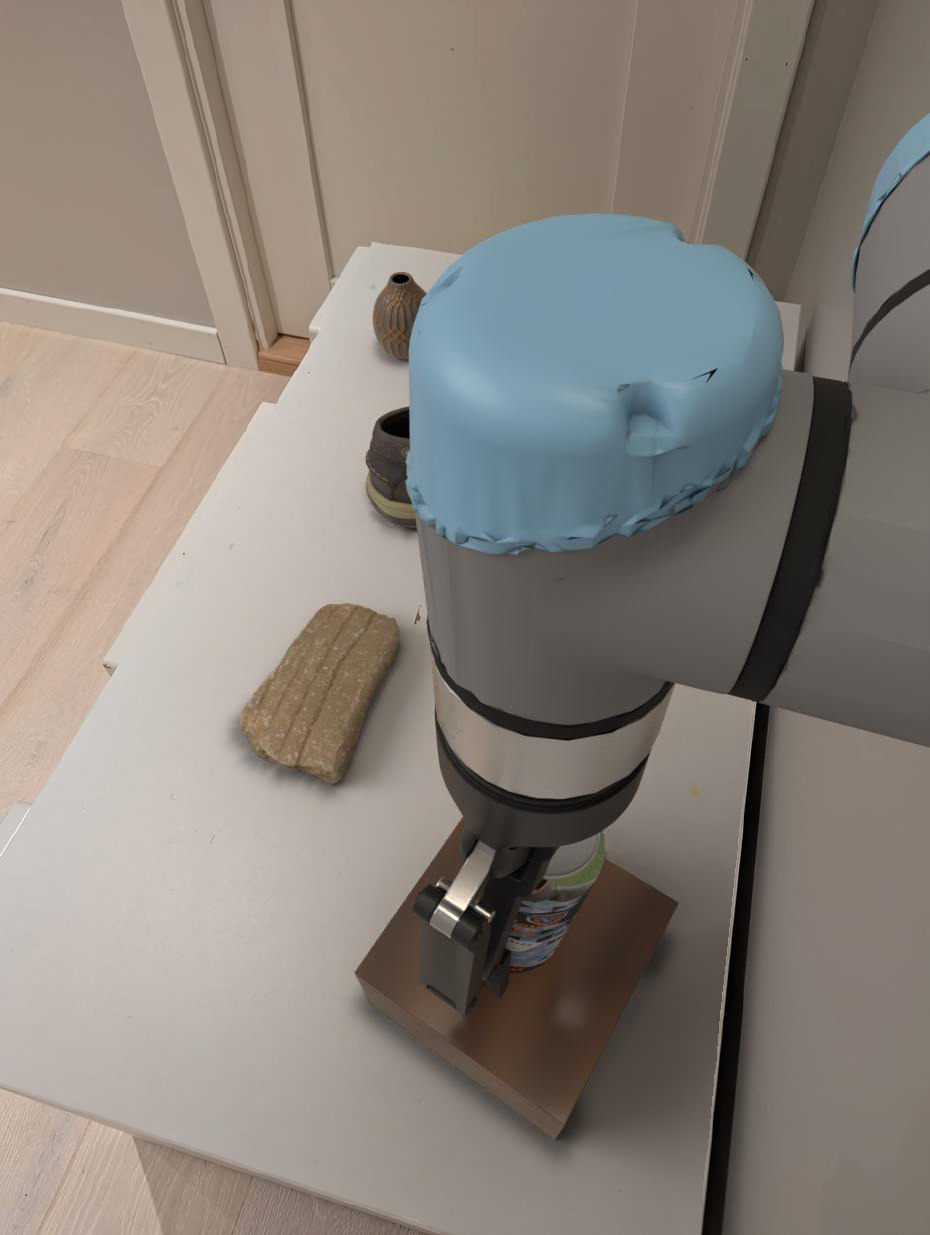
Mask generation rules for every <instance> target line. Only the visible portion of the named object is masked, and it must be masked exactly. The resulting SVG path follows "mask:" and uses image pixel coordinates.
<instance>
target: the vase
mask: <svg viewBox="0 0 930 1235" xmlns="http://www.w3.org/2000/svg"><path fill="white" fill-rule="evenodd" d="M427 293H428V292H426V290H424V289H423V288H422V287H421V285H419V284H418V283H417V282H416V280H415V279H414V278H413V275H412V274H411V273H409V272H406V271H398V272H394V273H392V274H391V275H390V276H389V279H388V281H387V284H386V285H385V286H384V287H383V289H381V291H380V293H379V295H378V296H377V297H376V300H375V301H374V306H373V310H372V327H373V332H374V336H375V338H376V340H377V343H378V344H379V345H380V347H381V348H382V350H383V351H385V352H386V354H388V355H390V356H391V357H393V358H396V359H397V360H398V359H399V360H407V361H409V345H410V338H411V333H412V328H413V325H414V322H415V319H416V316H417V313H418V310H419V307H420V304H421V300H422V298H423V297H424V296H425V295H426V294H427Z"/></svg>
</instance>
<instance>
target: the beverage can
mask: <svg viewBox="0 0 930 1235" xmlns="http://www.w3.org/2000/svg"><path fill="white" fill-rule="evenodd" d="M605 856H606V841H605V836H604V830H603V831H601V832H600V833H598V834H596V835H594V836H592V837H590V838H588V839H585V840H583V841H580V842H577V843H573V844H569V845H564V846H560V847H559V848H558V850H557V851H556V853H555V854H554V855H553V857H552V858H551V860H550V863H549V865H548V868H547V871H546V873H545V875H544V877H543V878H542V880H541V881H540V883H539V884H538V885H537V887H536V888H535V890H534V891H533V893H532V894H531V895H530V897H528V898H523V900H522V903H521V906H520V908H519V911H518V914H517V917H516V919H515V922H514V925H513V928H512V930H511V933H510V936H509V938H508V941H507V944H506V947H505V948H507V949H508V950H510V951H511V959H510V970H509V973H519V972H526V971H529V970H533V969H535V968H537V967H539V966H541V965H542V964H544V963H545V962H546V961H548V960H549V959H550V958H551V957H552V955H553V954H554V953H555V952H556V950H557V948H558V947H559V945H560V943H561V942H562V940H563V938H564V936H565V934H566V933H567V931H568V929H569V927H570V925H571V924H572V922H573V920H574V918H575V916H576V915H577V913H578V911H579V909H580V907H581V906H582V904H583V902H584V900H585V899H586V897H587V895H588V893H589V891H590V890H591V888H592V886H593V884H594V882H595V881H596V879H597V877H598V875H599V873H600V871H601V868H602V865H603V862H604V858H605ZM530 860H531V859H530ZM530 860H529V861H530Z"/></svg>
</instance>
